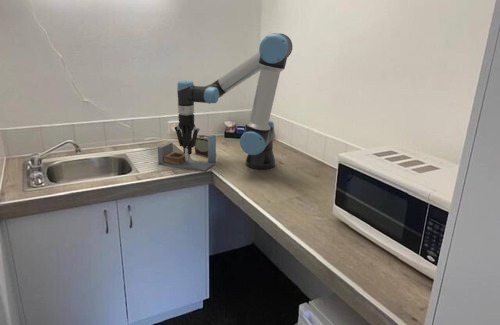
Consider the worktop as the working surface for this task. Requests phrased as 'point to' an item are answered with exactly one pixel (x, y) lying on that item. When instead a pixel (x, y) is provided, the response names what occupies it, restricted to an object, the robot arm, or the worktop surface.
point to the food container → (201, 145)
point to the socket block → (175, 158)
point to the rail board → (190, 164)
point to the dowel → (211, 149)
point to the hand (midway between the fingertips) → (187, 160)
